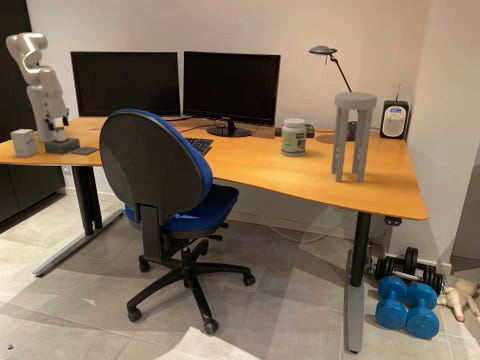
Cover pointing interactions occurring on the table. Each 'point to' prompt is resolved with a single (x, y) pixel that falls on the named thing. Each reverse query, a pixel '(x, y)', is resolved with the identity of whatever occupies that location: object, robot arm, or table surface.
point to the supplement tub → (293, 137)
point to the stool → (365, 107)
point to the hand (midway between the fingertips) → (59, 128)
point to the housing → (62, 146)
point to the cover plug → (60, 134)
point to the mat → (85, 150)
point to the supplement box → (24, 143)
